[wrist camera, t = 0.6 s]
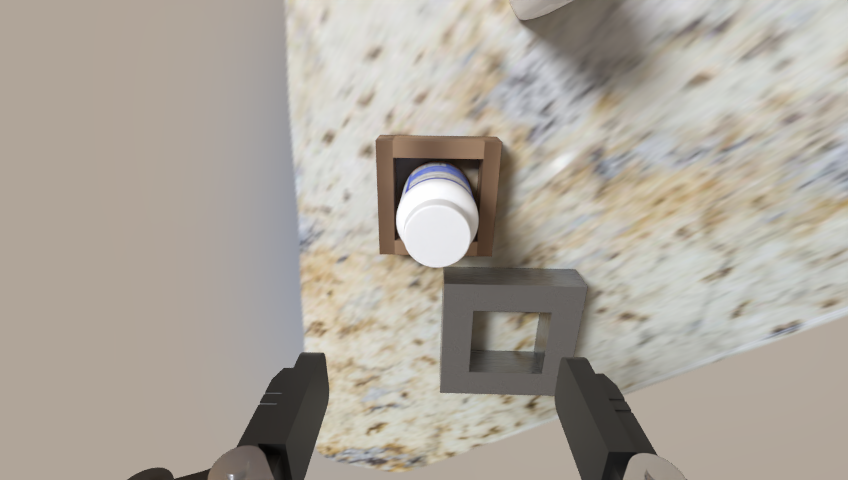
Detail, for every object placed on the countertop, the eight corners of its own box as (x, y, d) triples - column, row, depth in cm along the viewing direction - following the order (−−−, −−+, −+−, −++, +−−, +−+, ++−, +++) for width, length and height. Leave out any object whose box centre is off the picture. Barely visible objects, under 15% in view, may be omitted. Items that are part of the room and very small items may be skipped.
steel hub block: (575, 269, 34) (587, 287, 31) (556, 372, 39) (565, 395, 36) (443, 266, 34) (444, 283, 31) (439, 369, 39) (440, 392, 36)
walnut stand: (496, 136, 30) (501, 142, 27) (487, 243, 33) (491, 256, 31) (380, 135, 30) (375, 140, 28) (383, 241, 33) (379, 254, 31)
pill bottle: (452, 233, 33) (458, 293, 24) (392, 207, 32) (377, 259, 23) (482, 175, 31) (501, 218, 22) (420, 147, 30) (414, 178, 21)
